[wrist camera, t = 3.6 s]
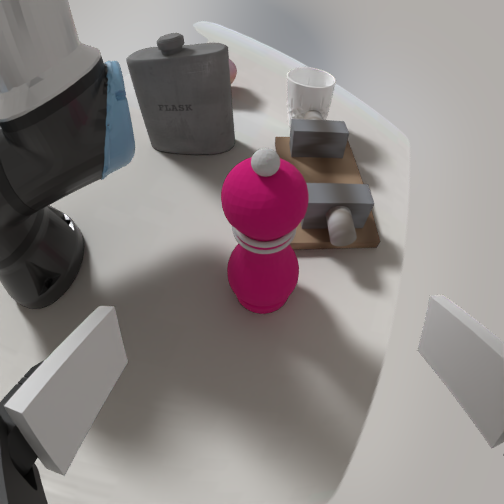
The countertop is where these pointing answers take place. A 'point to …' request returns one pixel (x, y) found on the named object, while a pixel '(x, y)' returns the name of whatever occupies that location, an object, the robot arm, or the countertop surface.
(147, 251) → the countertop surface
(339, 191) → the block
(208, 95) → the flask
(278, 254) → the pepper mill
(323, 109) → the white cup
